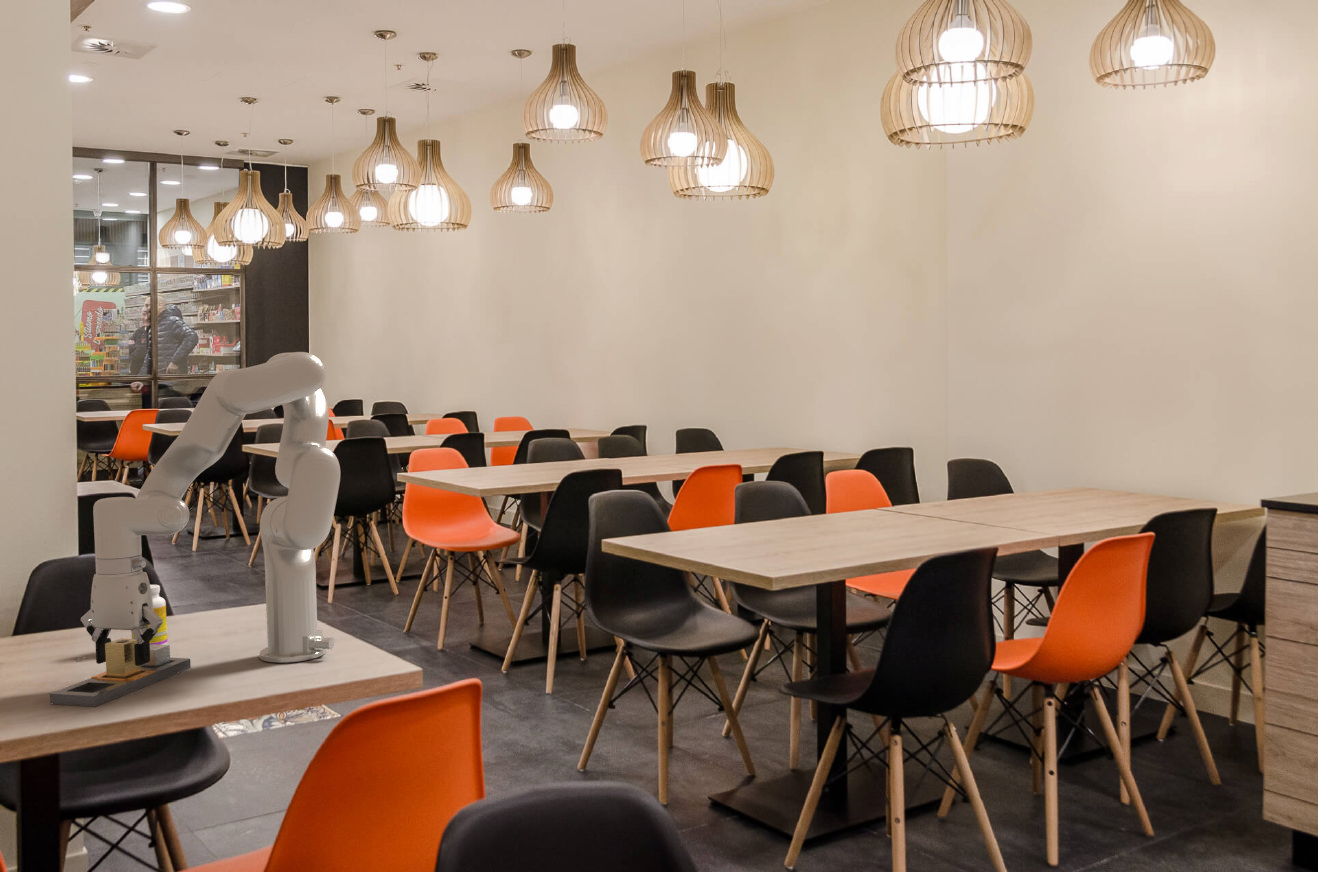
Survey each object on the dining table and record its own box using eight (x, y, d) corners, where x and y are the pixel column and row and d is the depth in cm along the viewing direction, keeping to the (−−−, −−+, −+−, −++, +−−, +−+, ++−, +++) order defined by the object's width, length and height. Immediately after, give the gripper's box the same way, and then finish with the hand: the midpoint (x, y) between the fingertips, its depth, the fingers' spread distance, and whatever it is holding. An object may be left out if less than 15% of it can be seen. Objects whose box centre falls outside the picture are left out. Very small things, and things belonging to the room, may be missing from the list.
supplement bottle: (174, 644, 228) (171, 583, 227) (156, 652, 221) (153, 589, 221) (143, 644, 229) (141, 583, 228) (125, 652, 222) (122, 589, 221)
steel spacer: (170, 671, 207) (169, 645, 207) (156, 676, 203) (155, 650, 203) (152, 669, 208) (151, 644, 208) (137, 675, 204) (136, 649, 204)
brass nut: (141, 682, 199) (139, 639, 199) (125, 688, 195) (123, 644, 195) (123, 681, 200) (121, 638, 200) (107, 687, 196) (105, 643, 196)
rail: (190, 667, 209) (190, 657, 209) (94, 706, 185) (94, 694, 185) (150, 665, 211) (149, 655, 211) (50, 703, 187) (49, 692, 187)
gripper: (174, 563, 198) (178, 659, 199) (93, 561, 202) (97, 655, 203) (146, 571, 191) (150, 670, 192) (62, 568, 195) (66, 665, 196)
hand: (123, 662), depth 198 cm, fingers open, 7 cm apart
